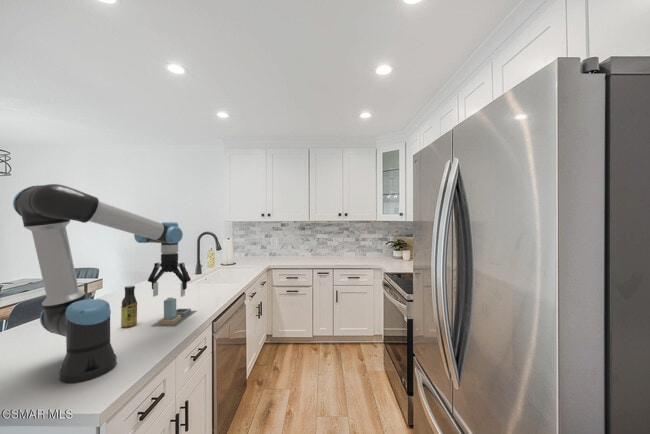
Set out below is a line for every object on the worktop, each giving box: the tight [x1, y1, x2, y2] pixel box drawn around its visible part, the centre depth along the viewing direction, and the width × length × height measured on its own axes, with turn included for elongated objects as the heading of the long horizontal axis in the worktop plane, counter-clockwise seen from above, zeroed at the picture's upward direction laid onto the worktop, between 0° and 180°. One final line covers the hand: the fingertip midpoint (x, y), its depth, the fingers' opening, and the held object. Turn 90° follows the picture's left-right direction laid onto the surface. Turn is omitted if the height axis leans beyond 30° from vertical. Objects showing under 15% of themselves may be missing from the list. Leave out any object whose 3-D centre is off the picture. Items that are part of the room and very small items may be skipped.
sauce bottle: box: [120, 285, 138, 329], centre depth 134 cm, size 6×6×20 cm
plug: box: [163, 297, 177, 320], centre depth 138 cm, size 4×4×12 cm
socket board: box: [150, 308, 198, 328], centre depth 143 cm, size 22×12×3 cm, turn 179°
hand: (169, 296), depth 138 cm, fingers open, 13 cm apart
